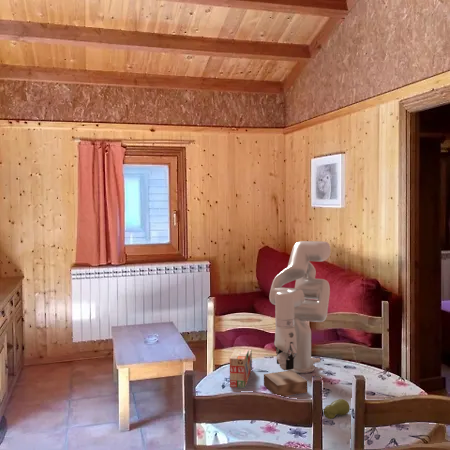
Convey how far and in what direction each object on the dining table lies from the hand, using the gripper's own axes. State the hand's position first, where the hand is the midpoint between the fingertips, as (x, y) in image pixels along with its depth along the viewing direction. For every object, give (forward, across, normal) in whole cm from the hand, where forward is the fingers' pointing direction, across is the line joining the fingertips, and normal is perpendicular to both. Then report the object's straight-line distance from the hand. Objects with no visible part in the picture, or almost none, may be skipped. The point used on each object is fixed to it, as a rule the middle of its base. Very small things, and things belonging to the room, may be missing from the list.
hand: (285, 365), depth 194 cm
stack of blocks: (+10, +18, +11) cm, 23 cm away
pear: (+10, -28, -4) cm, 30 cm away
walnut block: (+10, 0, 0) cm, 10 cm away
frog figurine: (+2, 0, 0) cm, 2 cm away
